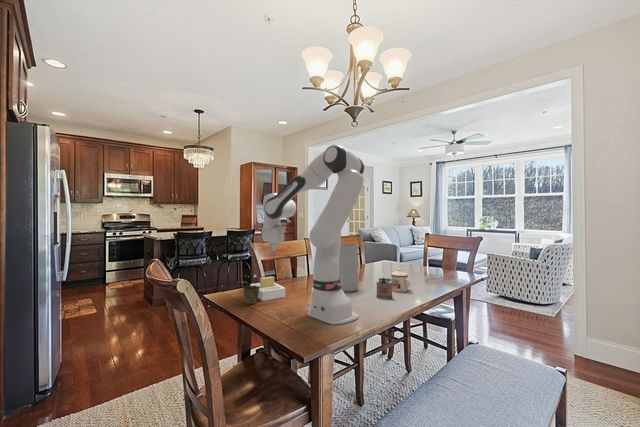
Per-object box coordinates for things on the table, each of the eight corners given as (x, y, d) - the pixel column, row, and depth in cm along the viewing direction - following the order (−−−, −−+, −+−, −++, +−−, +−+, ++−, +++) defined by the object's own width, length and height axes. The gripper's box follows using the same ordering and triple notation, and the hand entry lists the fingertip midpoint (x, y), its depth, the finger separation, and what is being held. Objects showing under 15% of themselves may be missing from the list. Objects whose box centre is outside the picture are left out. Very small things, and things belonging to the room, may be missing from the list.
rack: (285, 297, 148) (285, 288, 147) (261, 301, 141) (261, 292, 141) (271, 289, 163) (271, 281, 162) (249, 292, 156) (249, 284, 156)
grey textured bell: (255, 306, 133) (255, 289, 133) (240, 305, 134) (240, 288, 134) (261, 301, 140) (261, 285, 140) (247, 300, 142) (247, 284, 142)
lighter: (375, 297, 146) (375, 277, 146) (377, 295, 149) (377, 276, 149) (392, 299, 143) (391, 279, 143) (392, 297, 146) (392, 277, 146)
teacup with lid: (387, 289, 161) (387, 268, 161) (398, 287, 166) (398, 266, 166) (404, 294, 151) (404, 272, 151) (415, 292, 156) (415, 270, 156)
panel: (274, 292, 152) (274, 277, 152) (261, 294, 149) (261, 278, 149) (272, 291, 155) (272, 276, 154) (260, 293, 151) (260, 278, 151)
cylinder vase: (346, 285, 171) (346, 243, 171) (362, 289, 162) (362, 244, 162) (331, 288, 163) (331, 244, 163) (347, 293, 154) (347, 246, 153)
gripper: (286, 224, 144) (287, 251, 144) (270, 224, 161) (271, 248, 161) (275, 224, 140) (276, 253, 140) (259, 224, 158) (260, 249, 157)
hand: (273, 250), depth 151 cm, fingers closed
